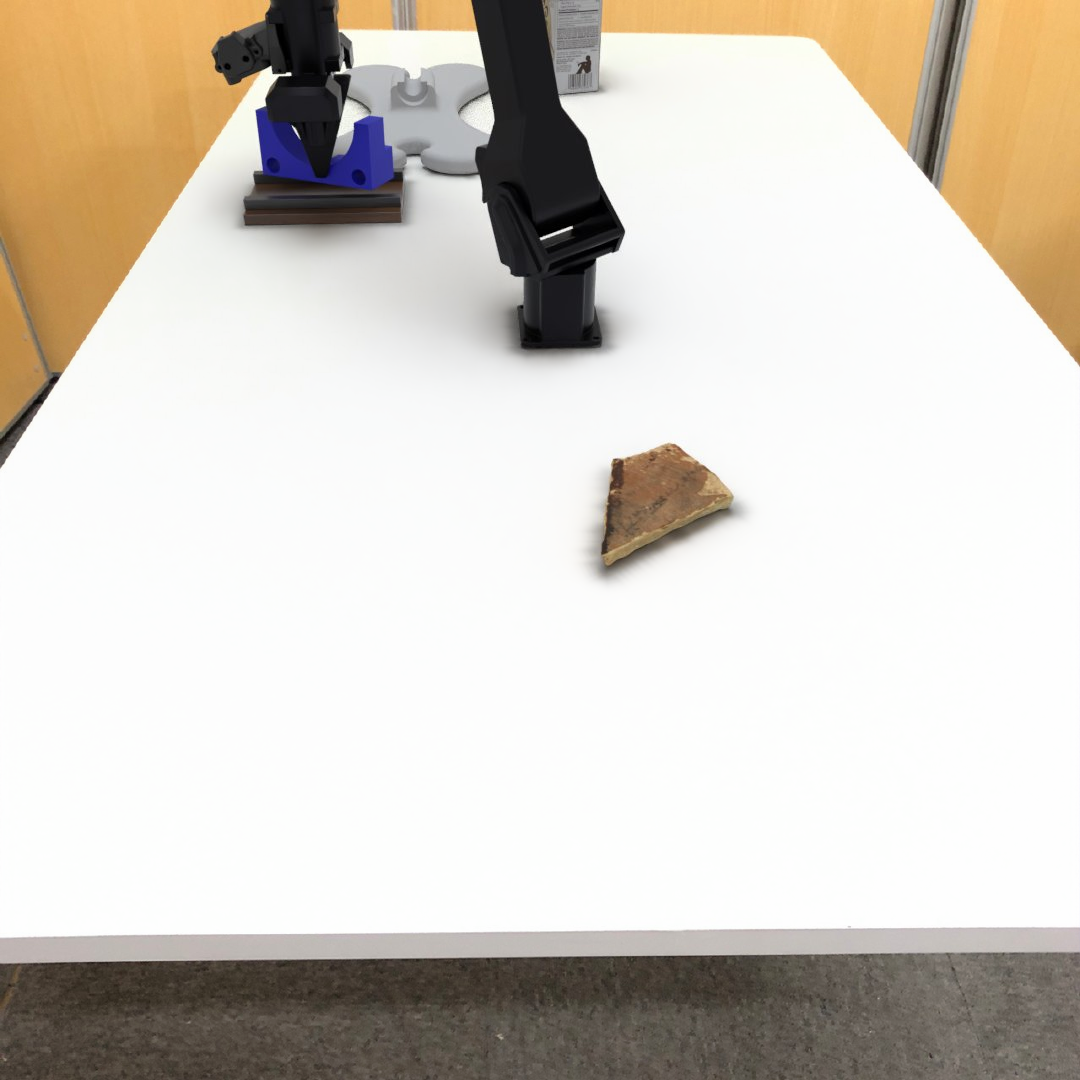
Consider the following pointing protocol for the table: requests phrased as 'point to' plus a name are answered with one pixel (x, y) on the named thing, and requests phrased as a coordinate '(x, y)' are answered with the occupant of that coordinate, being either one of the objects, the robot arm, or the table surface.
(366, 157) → the blue cradle block
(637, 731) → the table surface
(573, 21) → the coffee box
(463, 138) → the holder
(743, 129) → the table surface
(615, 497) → the shard
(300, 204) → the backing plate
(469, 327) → the table surface
